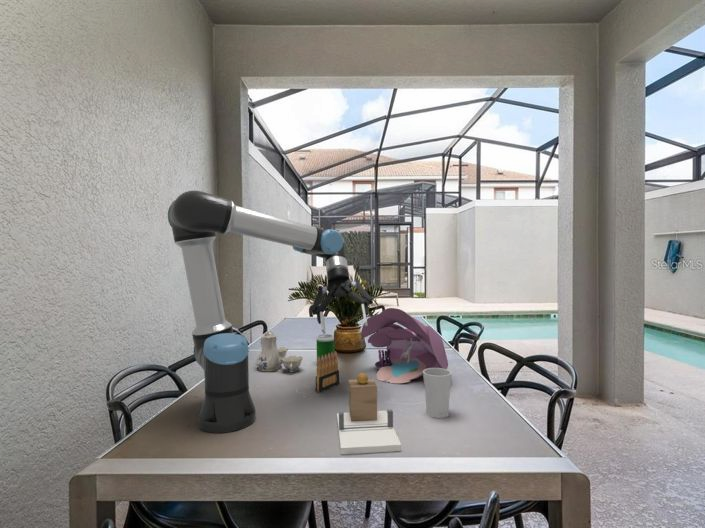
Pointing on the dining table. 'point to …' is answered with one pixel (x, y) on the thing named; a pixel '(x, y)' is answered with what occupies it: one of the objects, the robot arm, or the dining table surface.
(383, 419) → the stand
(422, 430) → the dining table surface
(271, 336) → the chinaware
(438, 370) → the cup
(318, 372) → the ammunition clip
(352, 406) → the block
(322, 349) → the soda can
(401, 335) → the flower arrangement
